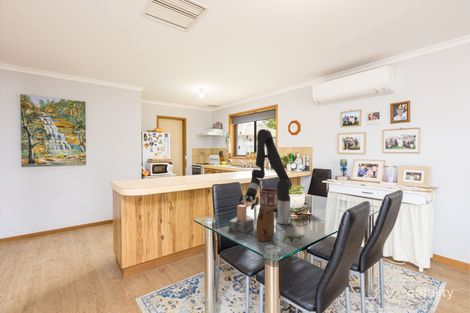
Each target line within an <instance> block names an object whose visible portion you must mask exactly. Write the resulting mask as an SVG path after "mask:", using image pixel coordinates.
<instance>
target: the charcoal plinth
mask: <svg viewBox="0 0 470 313" xmlns="http://www.w3.org/2000/svg"><path fill="white" fill-rule="evenodd" d="M254 227H255V220H254V219H253V218H251V217H250V218H249V217H246V220H245V221H239V220H237V216H235V217H234V218H232V219H230V220H229V222H228V230H229V231H234V232H240V233H243V234H247V233H249V231H251V230H252V229H254Z"/></svg>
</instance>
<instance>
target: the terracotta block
mask: <svg viewBox="0 0 470 313" xmlns="http://www.w3.org/2000/svg"><path fill="white" fill-rule="evenodd" d="M236 207H237V208H236V210H237V211H236V217H237V220H239V221H245V220H246V218H247V208H248V207H247V205H246V204H243V205H240V204H238V205H236Z"/></svg>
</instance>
